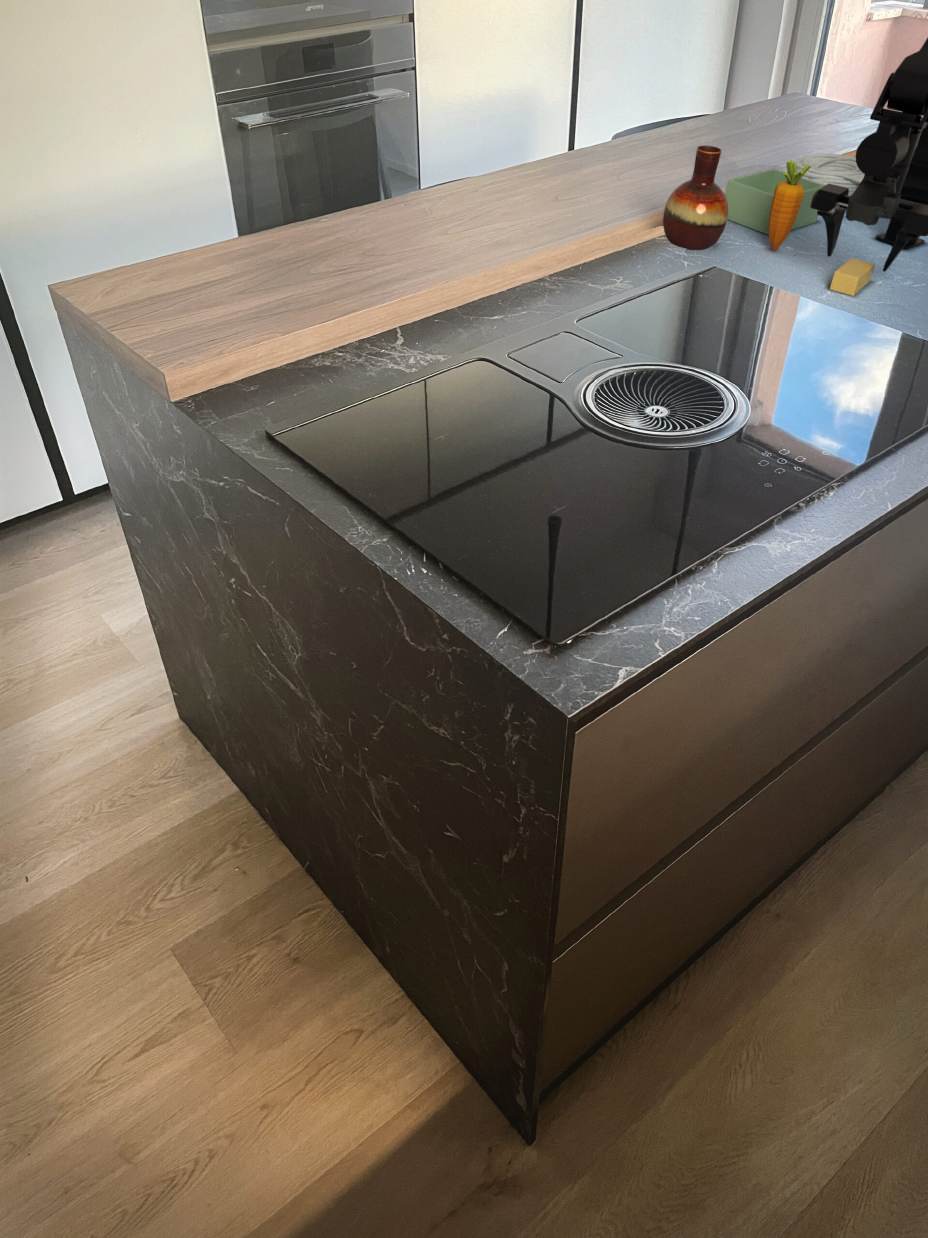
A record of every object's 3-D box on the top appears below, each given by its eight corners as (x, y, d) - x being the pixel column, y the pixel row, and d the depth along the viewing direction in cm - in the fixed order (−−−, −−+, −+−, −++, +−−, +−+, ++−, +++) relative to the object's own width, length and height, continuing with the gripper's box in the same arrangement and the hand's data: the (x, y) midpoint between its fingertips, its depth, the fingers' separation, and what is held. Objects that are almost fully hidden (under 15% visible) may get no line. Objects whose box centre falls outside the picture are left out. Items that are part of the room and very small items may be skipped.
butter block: (845, 275, 159) (851, 257, 157) (868, 281, 157) (875, 263, 155) (829, 289, 154) (835, 270, 152) (853, 295, 152) (859, 277, 150)
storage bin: (764, 203, 185) (773, 168, 181) (816, 221, 178) (827, 185, 174) (719, 216, 178) (727, 179, 174) (771, 235, 171) (781, 198, 167)
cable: (877, 179, 176) (869, 212, 180) (888, 154, 188) (880, 185, 192) (783, 170, 182) (777, 202, 186) (799, 146, 194) (794, 177, 198)
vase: (693, 227, 173) (712, 136, 162) (734, 248, 166) (756, 154, 155) (646, 235, 168) (662, 142, 158) (686, 257, 161) (706, 161, 151)
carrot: (791, 249, 166) (816, 159, 156) (782, 257, 163) (808, 166, 153) (764, 243, 168) (788, 153, 158) (755, 251, 165) (778, 160, 155)
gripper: (813, 158, 141) (784, 261, 152) (937, 187, 134) (898, 293, 144) (838, 144, 148) (809, 243, 159) (958, 170, 140) (919, 273, 151)
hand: (856, 263), depth 153 cm, fingers open, 9 cm apart
